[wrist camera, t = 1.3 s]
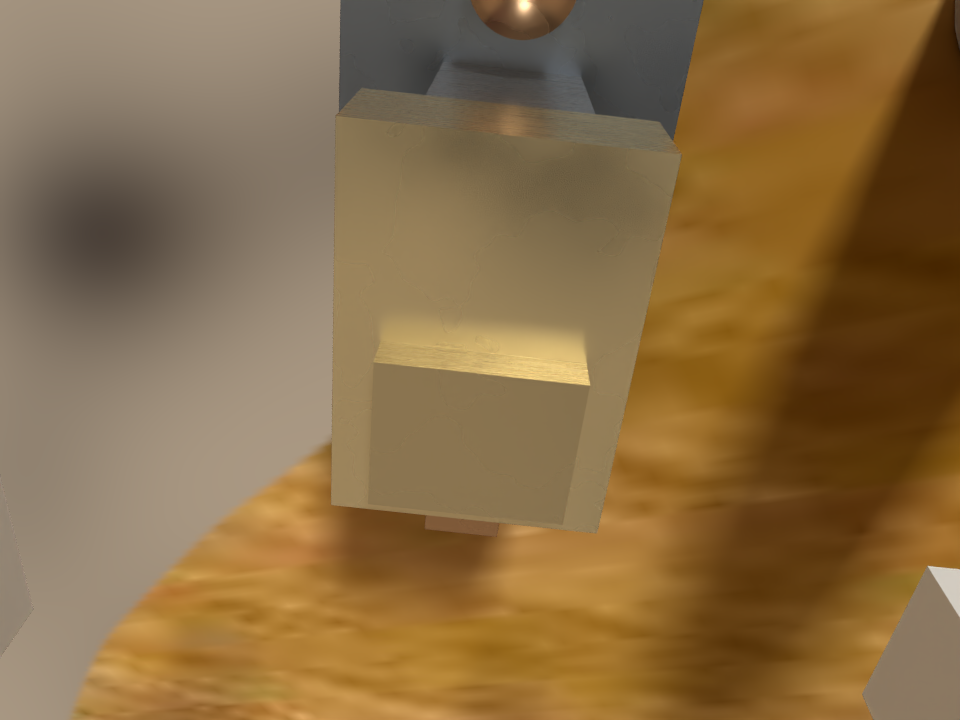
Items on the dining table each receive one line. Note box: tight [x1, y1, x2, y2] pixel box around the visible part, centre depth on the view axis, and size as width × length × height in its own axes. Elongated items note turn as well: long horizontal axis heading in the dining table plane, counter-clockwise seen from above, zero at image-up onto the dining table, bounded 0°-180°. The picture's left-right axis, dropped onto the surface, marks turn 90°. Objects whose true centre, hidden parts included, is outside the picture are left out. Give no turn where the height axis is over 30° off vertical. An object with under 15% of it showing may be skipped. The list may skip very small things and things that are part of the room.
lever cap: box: [331, 88, 682, 533], centre depth 19 cm, size 10×7×4 cm
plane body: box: [339, 0, 703, 537], centre depth 25 cm, size 18×10×8 cm, turn 174°
